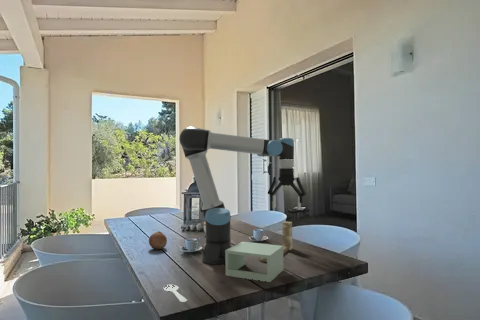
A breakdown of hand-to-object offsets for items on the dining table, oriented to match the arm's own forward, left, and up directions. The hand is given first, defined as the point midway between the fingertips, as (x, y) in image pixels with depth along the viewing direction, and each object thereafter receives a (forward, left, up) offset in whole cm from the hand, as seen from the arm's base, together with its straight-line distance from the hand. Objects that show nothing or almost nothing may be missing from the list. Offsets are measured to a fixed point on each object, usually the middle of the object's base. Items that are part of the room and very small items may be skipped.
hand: (286, 208), depth 177 cm
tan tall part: (-1, -11, -21) cm, 24 cm away
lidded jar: (-54, +14, -21) cm, 59 cm away
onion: (-63, -27, -21) cm, 71 cm away
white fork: (-18, -72, -22) cm, 77 cm away
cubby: (-1, -41, -21) cm, 46 cm away
